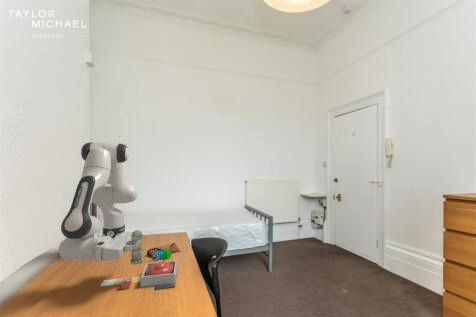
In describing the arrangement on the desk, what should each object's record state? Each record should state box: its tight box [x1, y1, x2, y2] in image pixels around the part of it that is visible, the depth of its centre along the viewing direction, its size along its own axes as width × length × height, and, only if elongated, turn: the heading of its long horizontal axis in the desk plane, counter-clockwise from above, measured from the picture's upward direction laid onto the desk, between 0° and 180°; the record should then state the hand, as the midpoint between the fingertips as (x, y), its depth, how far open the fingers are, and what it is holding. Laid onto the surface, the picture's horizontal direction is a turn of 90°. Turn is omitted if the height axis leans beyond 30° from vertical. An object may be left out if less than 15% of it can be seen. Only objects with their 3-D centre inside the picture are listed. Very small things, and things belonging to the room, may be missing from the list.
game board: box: [99, 260, 178, 291], centre depth 98 cm, size 16×31×5 cm, turn 102°
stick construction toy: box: [152, 246, 172, 262], centre depth 122 cm, size 12×7×8 cm
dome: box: [147, 261, 173, 276], centre depth 100 cm, size 11×11×6 cm
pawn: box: [130, 229, 144, 265], centre depth 98 cm, size 5×5×14 cm
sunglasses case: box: [146, 242, 181, 260], centre depth 131 cm, size 18×7×7 cm
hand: (139, 244), depth 98 cm, fingers closed on pawn, 4 cm apart
